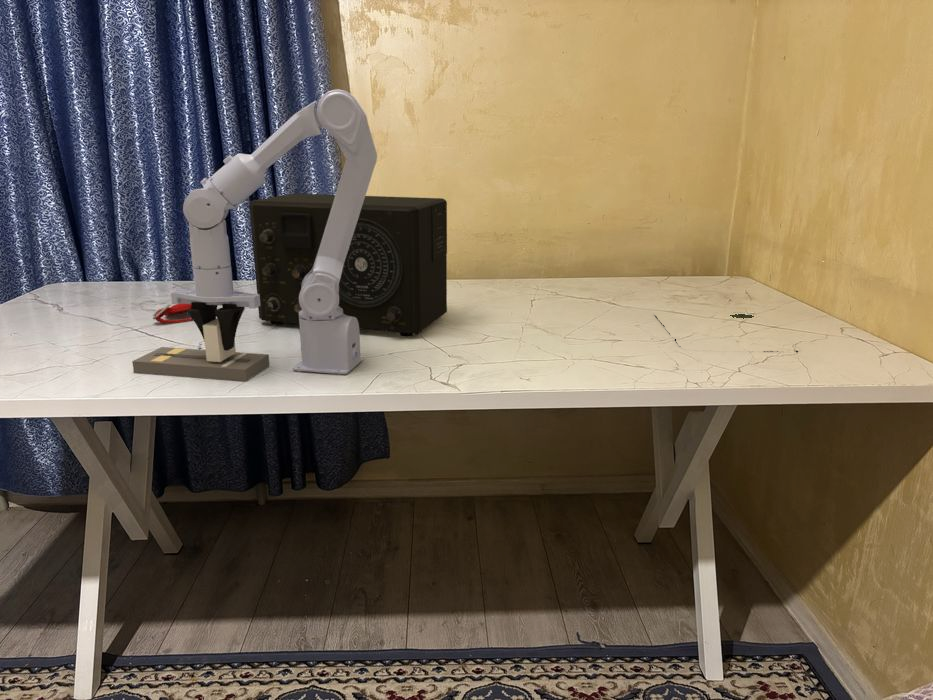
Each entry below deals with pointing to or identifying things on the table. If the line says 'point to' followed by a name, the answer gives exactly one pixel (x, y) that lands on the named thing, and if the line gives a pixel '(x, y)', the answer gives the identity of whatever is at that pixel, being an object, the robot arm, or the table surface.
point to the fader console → (200, 364)
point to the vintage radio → (355, 259)
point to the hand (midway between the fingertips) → (220, 348)
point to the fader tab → (215, 343)
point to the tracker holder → (172, 312)
